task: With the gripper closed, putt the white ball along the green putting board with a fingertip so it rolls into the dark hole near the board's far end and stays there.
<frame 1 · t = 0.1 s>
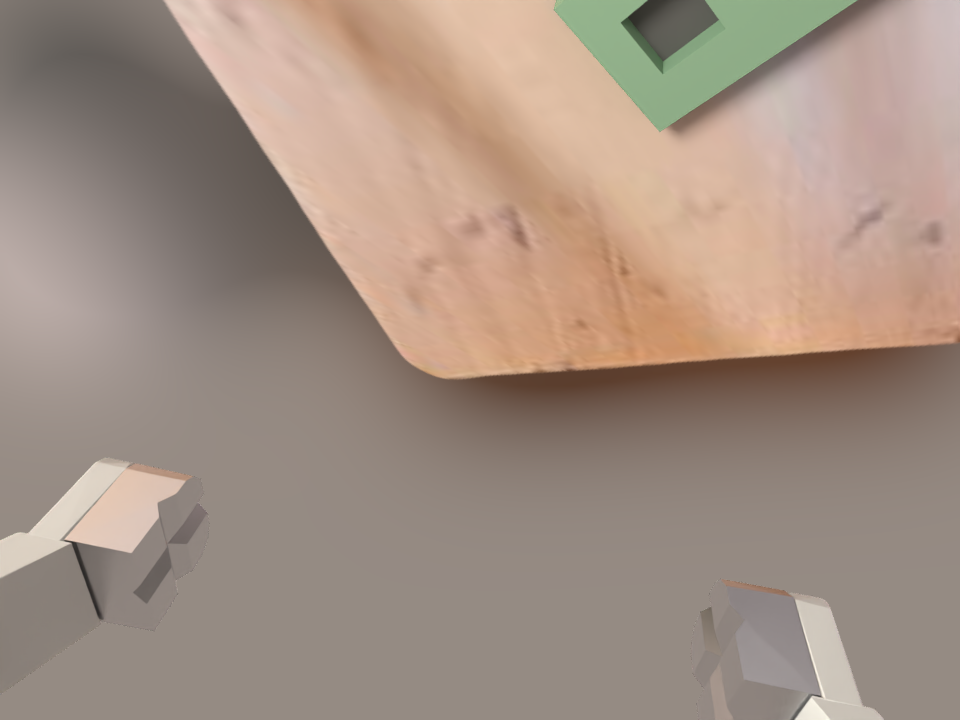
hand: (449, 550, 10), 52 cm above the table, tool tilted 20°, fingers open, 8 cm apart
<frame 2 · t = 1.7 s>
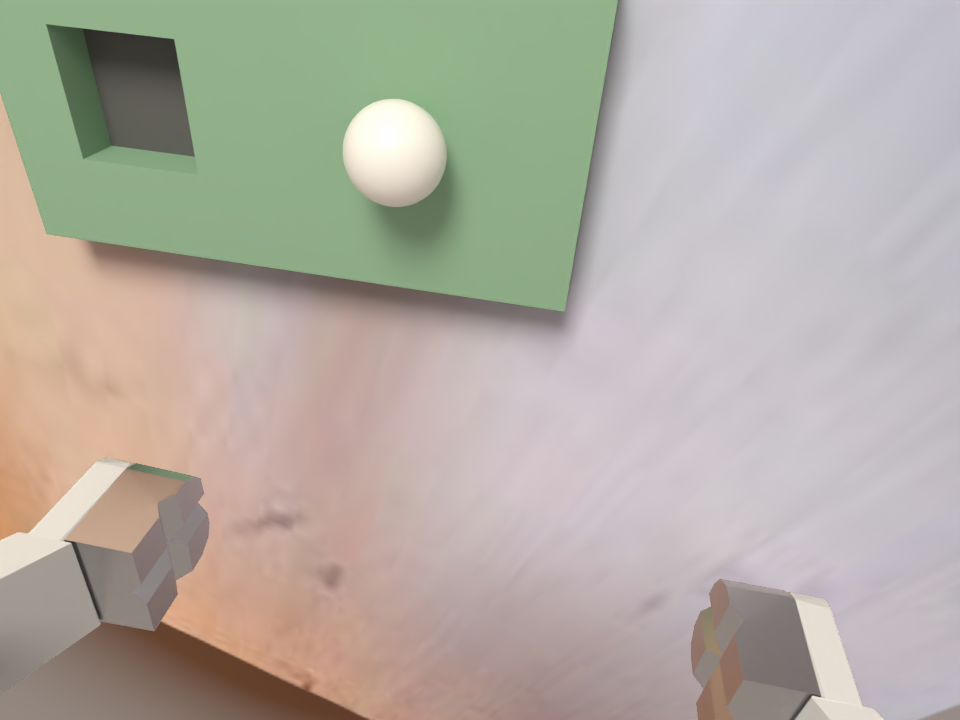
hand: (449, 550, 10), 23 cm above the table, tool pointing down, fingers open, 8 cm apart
green board: (303, 107, 30), on the table
ball: (395, 154, 26), point 4 cm above the table, touching green board
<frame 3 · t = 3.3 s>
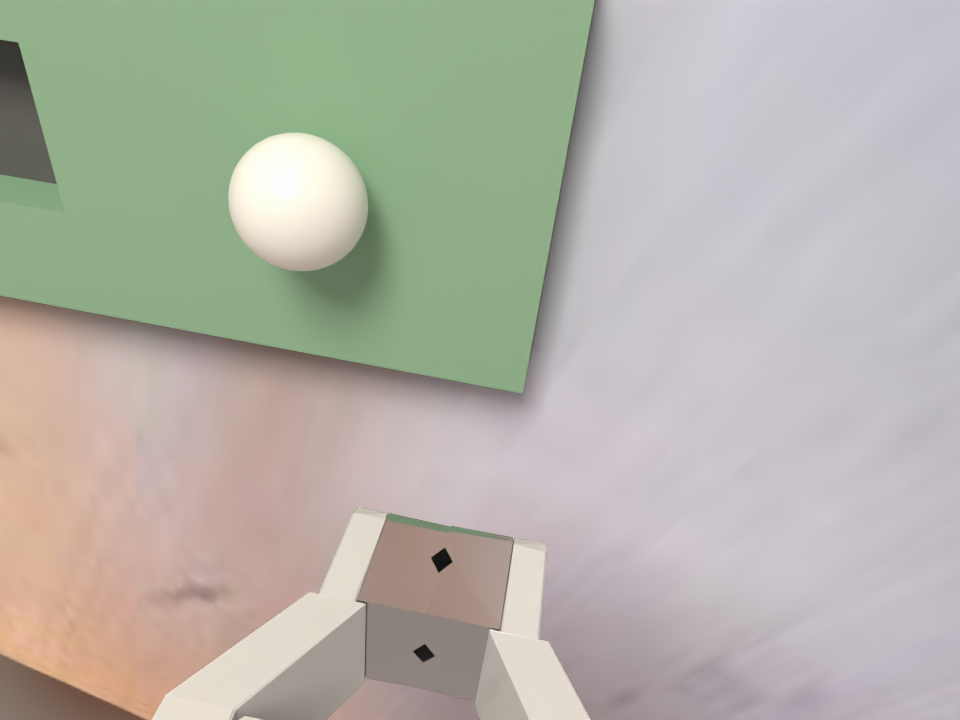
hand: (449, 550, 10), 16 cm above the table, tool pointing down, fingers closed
green board: (201, 132, 24), on the table
ball: (300, 203, 20), point 4 cm above the table, touching green board
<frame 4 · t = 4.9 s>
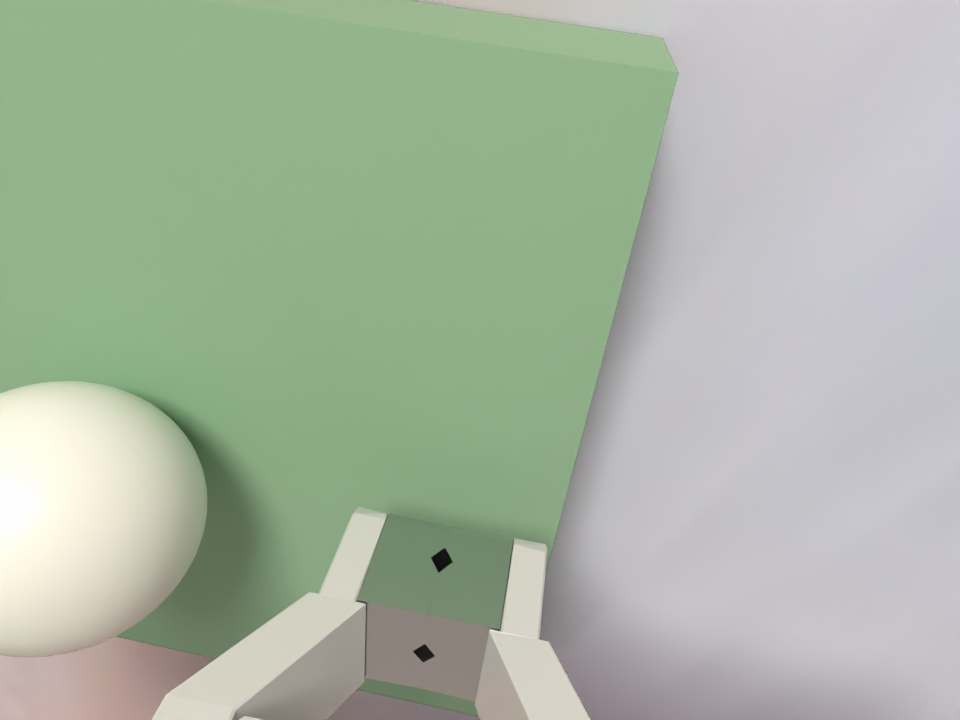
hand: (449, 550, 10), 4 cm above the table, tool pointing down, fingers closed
ball: (64, 512, 10), point 4 cm above the table, touching green board
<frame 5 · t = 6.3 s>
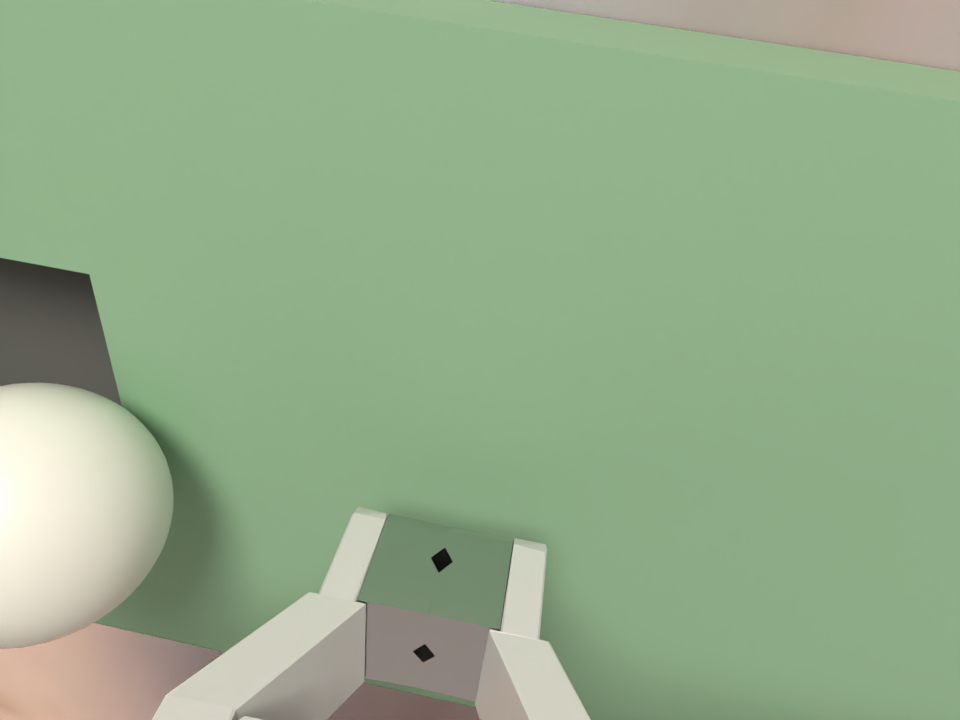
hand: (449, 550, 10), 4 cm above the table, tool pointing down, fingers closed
green board: (392, 378, 14), on the table
ball: (33, 510, 10), point 4 cm above the table, tilted 74°, touching green board
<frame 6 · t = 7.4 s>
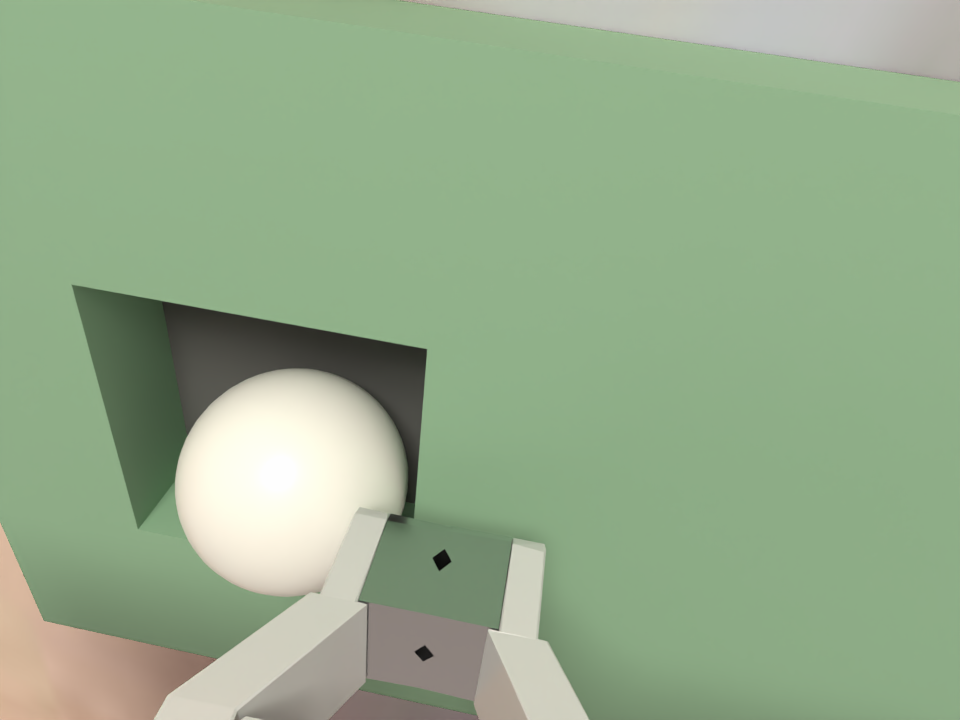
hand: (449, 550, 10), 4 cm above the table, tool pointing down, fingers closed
green board: (652, 435, 13), on the table
ball: (296, 479, 12), point 2 cm above the table, touching green board, gripper
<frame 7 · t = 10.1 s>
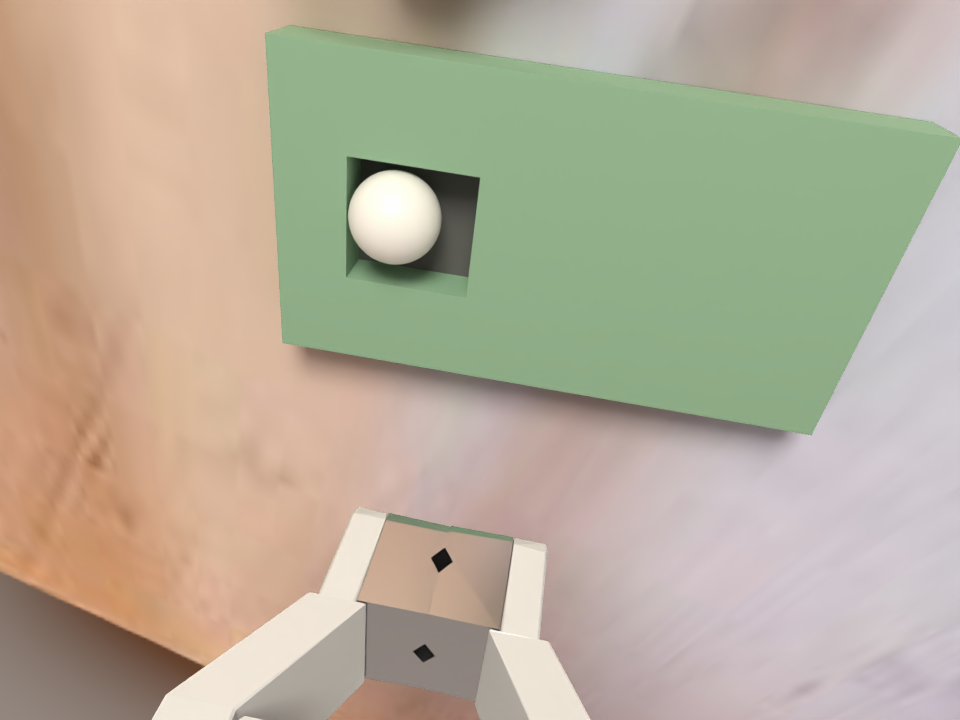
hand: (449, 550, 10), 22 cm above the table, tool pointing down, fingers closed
green board: (570, 234, 31), on the table
ball: (395, 217, 29), point 2 cm above the table, tilted 44°, touching green board
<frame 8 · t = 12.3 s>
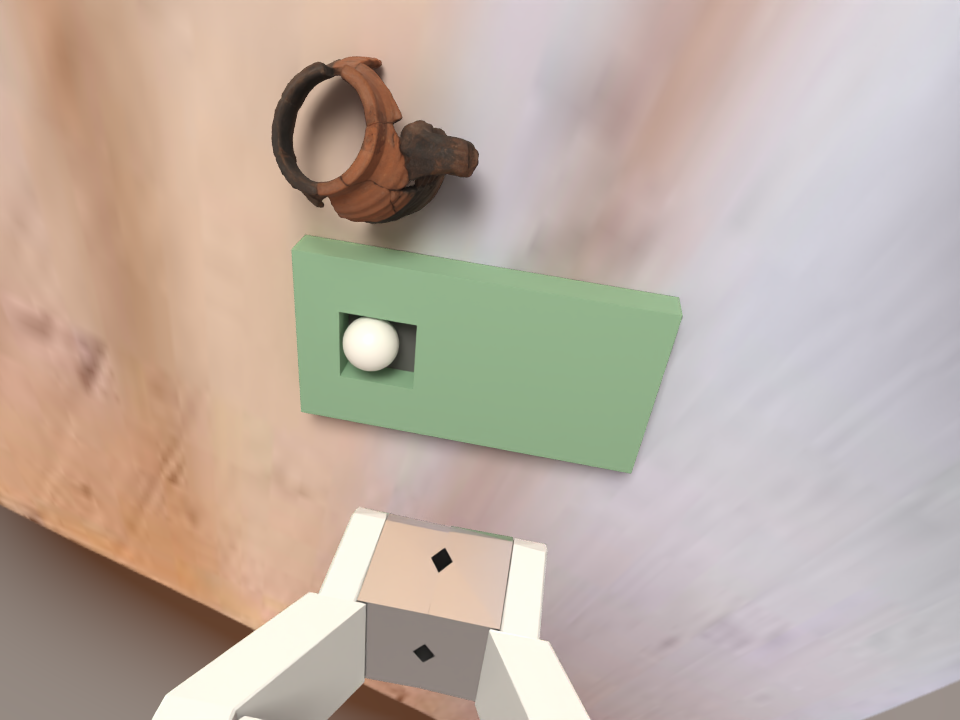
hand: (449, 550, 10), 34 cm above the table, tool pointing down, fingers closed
green board: (477, 349, 49), on the table
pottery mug: (396, 137, 42), on the table
ball: (371, 343, 48), point 2 cm above the table, tilted 43°, touching green board
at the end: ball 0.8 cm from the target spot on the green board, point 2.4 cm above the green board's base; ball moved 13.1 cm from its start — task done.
